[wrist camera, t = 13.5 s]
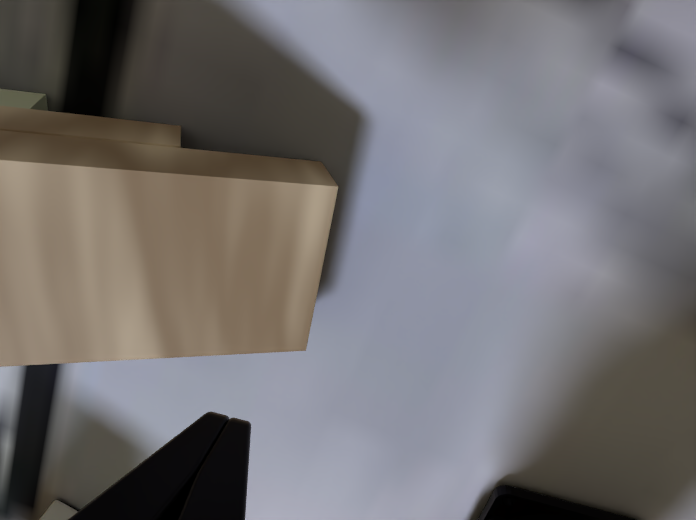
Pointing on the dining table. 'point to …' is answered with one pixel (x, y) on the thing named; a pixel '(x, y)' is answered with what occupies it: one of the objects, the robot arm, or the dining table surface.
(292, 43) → the dining table surface
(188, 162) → the domino
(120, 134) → the domino
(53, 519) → the small box
